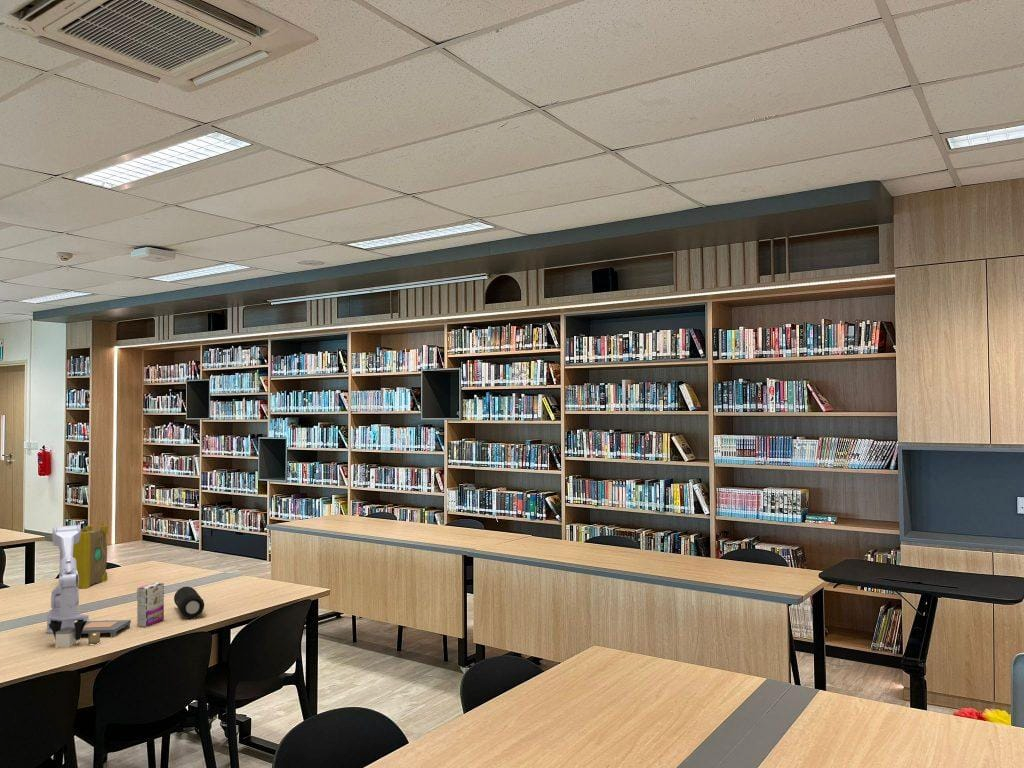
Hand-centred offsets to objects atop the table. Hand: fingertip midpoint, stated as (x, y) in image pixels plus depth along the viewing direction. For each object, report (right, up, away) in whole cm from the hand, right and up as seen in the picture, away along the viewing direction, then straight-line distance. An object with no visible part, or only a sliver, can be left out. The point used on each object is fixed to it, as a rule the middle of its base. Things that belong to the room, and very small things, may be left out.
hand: (67, 639), depth 286 cm
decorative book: (-53, -7, +105) cm, 118 cm away
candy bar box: (+18, -3, +28) cm, 34 cm away
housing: (0, -2, 0) cm, 2 cm away
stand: (+4, -2, +15) cm, 16 cm away
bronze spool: (+10, -2, 0) cm, 10 cm away
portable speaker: (+28, -4, +45) cm, 53 cm away
